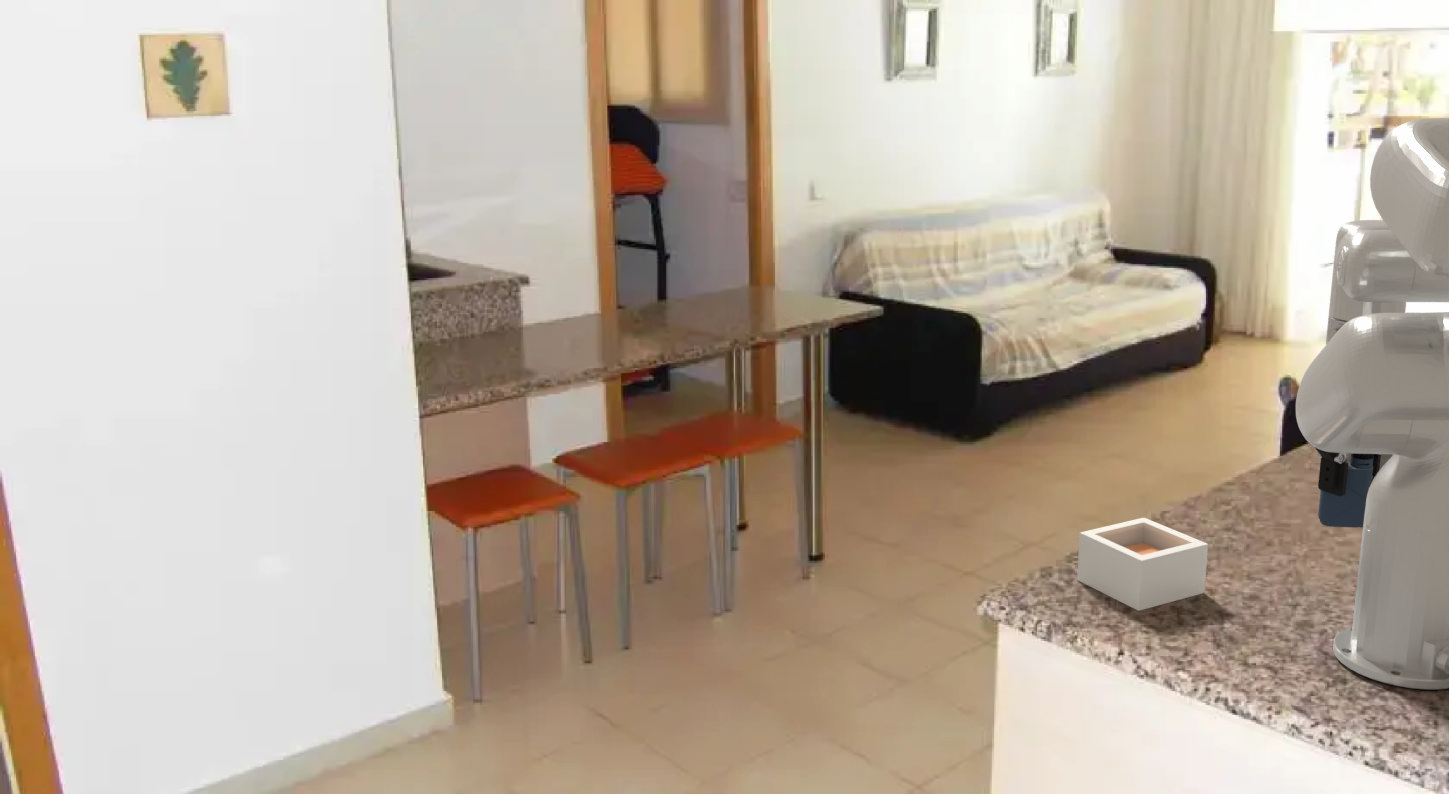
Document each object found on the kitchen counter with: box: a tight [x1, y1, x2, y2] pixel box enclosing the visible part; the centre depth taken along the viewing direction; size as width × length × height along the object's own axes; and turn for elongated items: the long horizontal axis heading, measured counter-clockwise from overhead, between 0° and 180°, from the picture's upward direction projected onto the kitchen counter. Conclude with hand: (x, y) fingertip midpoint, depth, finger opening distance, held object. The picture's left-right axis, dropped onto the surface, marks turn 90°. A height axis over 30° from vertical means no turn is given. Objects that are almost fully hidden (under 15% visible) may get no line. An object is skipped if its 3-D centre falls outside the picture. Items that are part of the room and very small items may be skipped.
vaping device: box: [1317, 453, 1374, 528], centre depth 144 cm, size 3×5×12 cm, turn 78°
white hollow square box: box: [1076, 517, 1209, 612], centre depth 146 cm, size 10×10×6 cm
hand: (1347, 487), depth 145 cm, fingers closed on vaping device, 4 cm apart
